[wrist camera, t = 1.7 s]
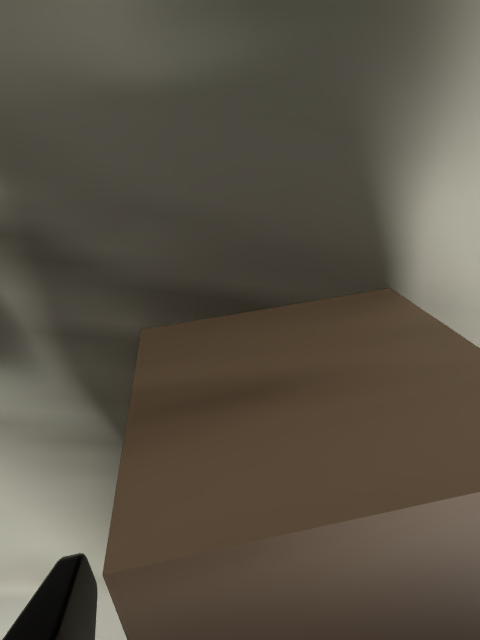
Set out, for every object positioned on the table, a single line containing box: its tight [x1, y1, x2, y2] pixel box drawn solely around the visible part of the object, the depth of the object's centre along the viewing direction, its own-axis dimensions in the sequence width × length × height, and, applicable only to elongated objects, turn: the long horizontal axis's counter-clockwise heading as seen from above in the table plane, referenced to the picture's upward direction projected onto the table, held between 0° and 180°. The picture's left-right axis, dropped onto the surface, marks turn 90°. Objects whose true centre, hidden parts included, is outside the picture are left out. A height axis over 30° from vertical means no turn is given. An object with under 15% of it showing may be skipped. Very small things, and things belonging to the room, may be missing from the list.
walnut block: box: [103, 288, 480, 640], centre depth 8 cm, size 6×6×6 cm
